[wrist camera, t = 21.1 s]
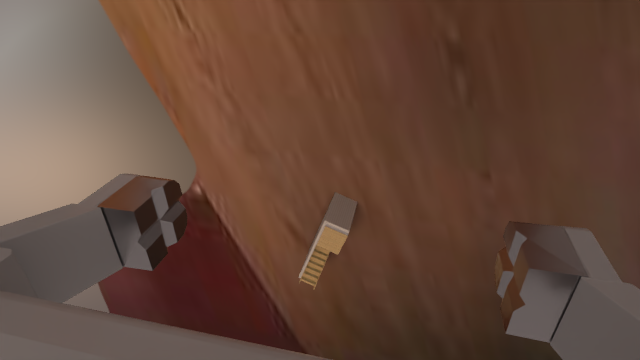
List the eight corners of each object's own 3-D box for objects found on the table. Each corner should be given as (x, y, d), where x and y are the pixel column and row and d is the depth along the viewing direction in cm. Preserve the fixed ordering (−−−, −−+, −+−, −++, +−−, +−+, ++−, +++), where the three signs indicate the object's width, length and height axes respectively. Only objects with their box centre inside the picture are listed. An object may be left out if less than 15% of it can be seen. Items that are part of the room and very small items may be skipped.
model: (358, 200, 51) (348, 235, 44) (331, 253, 56) (318, 292, 50) (335, 190, 51) (322, 224, 44) (311, 244, 56) (296, 282, 50)
